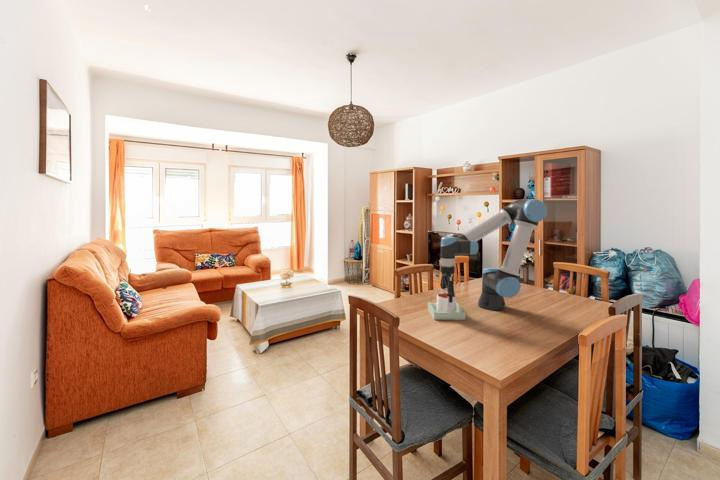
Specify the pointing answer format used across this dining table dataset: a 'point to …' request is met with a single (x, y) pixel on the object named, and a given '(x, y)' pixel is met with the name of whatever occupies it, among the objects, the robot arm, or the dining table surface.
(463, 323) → the dining table surface
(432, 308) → the pale green square tray
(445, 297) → the cup
